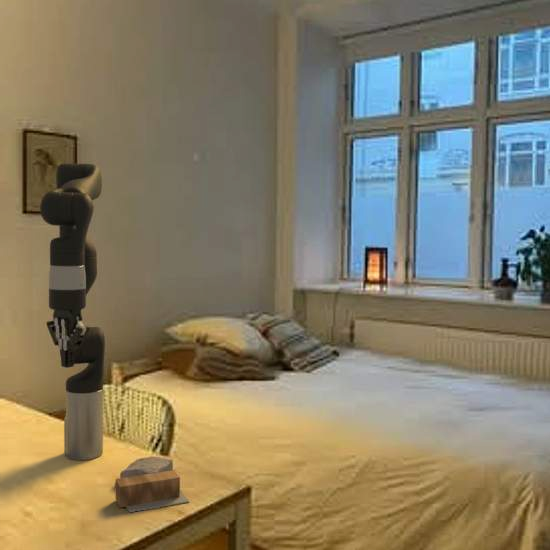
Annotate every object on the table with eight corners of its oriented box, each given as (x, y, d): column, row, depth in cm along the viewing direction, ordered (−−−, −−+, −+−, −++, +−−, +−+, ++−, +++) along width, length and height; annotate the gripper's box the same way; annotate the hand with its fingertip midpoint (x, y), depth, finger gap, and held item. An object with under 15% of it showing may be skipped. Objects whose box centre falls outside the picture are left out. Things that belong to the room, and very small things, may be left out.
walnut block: (120, 486, 133) (179, 477, 139) (115, 479, 137) (173, 470, 143) (120, 507, 134) (179, 497, 139) (115, 499, 138) (173, 489, 144)
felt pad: (129, 513, 132) (129, 511, 132) (118, 494, 141) (118, 493, 141) (189, 502, 138) (189, 501, 138) (175, 485, 147) (175, 484, 147)
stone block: (117, 493, 145) (158, 488, 143) (114, 472, 145) (154, 467, 143) (139, 476, 157) (177, 471, 155) (136, 457, 157) (173, 452, 155)
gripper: (101, 287, 134) (100, 368, 135) (65, 283, 142) (65, 359, 144) (69, 290, 128) (70, 374, 130) (34, 285, 137) (34, 364, 138)
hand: (67, 366), depth 137 cm, fingers closed
